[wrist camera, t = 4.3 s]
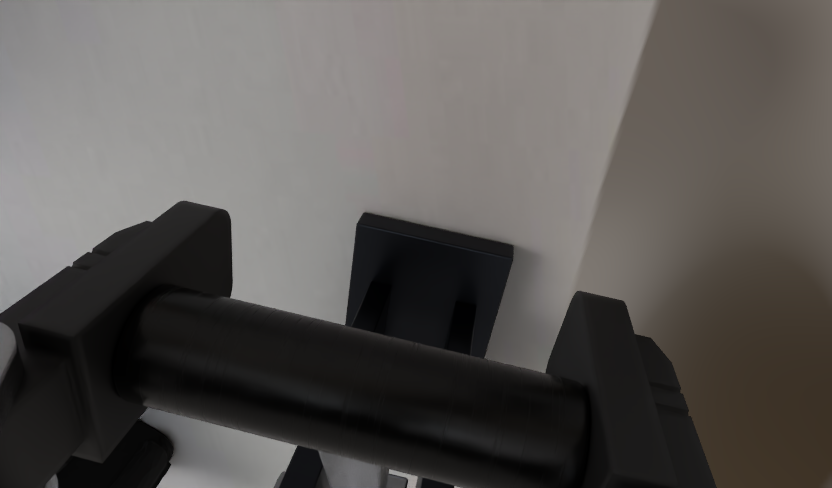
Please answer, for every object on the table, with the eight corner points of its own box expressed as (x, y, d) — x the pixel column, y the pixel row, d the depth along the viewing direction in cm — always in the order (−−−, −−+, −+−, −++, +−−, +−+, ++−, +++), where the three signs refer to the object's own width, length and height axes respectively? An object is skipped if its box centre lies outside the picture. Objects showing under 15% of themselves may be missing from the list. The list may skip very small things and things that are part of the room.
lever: (172, 239, 7) (71, 403, 6) (596, 337, 7) (589, 538, 6) (294, 465, 19) (268, 539, 18) (456, 507, 19) (443, 586, 17)
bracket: (363, 211, 24) (232, 430, 13) (514, 245, 24) (507, 501, 13) (344, 370, 29) (238, 624, 18) (468, 400, 29) (435, 680, 18)
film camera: (217, 399, 32) (122, 541, 25) (166, 473, 37) (72, 611, 29) (-16, 260, 30) (-202, 369, 22) (-39, 358, 35) (-199, 476, 27)
